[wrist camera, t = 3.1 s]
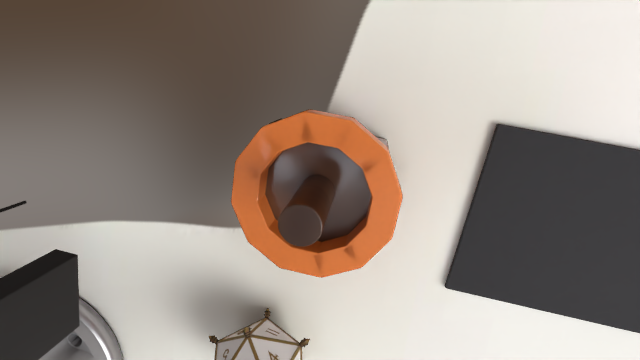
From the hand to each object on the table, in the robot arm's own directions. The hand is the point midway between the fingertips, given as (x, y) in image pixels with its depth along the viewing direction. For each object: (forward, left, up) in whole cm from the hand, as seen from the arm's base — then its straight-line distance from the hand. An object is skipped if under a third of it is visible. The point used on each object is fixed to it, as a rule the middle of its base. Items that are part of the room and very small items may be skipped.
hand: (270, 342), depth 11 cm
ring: (-1, 0, -14) cm, 14 cm away
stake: (-1, 0, -17) cm, 17 cm away
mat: (+20, 0, -17) cm, 26 cm away
